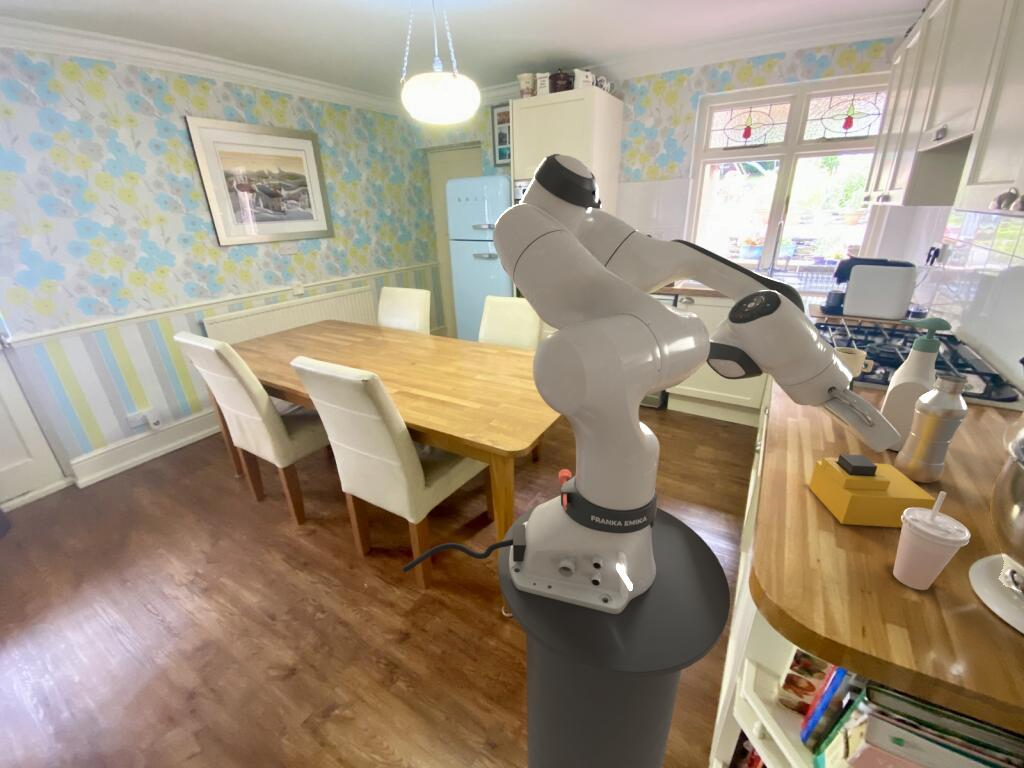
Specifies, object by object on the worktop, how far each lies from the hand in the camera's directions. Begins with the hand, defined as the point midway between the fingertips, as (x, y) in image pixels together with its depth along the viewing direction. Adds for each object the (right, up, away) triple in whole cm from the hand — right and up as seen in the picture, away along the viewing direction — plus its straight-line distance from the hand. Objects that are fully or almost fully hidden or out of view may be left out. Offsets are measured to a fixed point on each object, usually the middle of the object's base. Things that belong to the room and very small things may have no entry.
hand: (864, 436), depth 66 cm
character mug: (+32, +5, +47) cm, 58 cm away
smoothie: (-1, -19, -9) cm, 21 cm away
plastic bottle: (+20, -10, +13) cm, 25 cm away
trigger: (+1, -6, +3) cm, 7 cm away
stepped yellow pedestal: (+4, -13, +5) cm, 14 cm away
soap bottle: (+27, -4, +26) cm, 37 cm away
